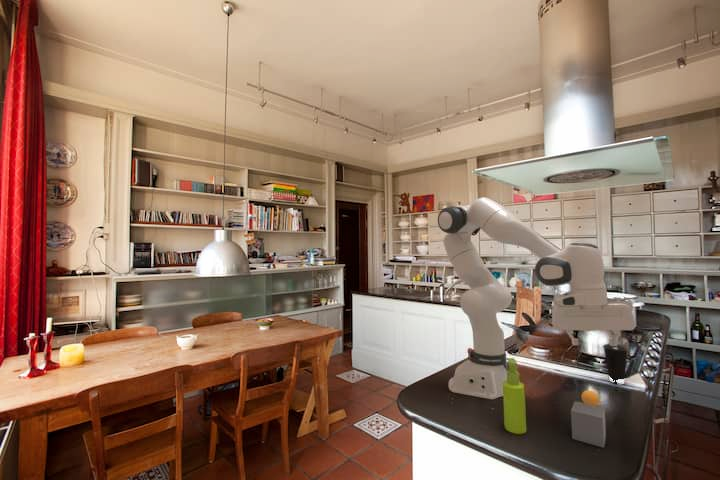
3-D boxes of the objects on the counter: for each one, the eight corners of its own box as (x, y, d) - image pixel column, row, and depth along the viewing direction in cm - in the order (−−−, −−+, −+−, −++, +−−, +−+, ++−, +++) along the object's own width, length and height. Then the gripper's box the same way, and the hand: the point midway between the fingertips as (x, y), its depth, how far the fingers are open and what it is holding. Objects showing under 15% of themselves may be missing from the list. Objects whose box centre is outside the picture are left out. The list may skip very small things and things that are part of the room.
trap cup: (603, 447, 90) (602, 418, 91) (572, 438, 95) (570, 410, 95) (605, 435, 96) (604, 407, 96) (575, 427, 101) (574, 401, 101)
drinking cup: (634, 387, 127) (631, 333, 127) (611, 386, 128) (608, 332, 129) (622, 379, 134) (620, 328, 135) (601, 378, 136) (598, 327, 136)
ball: (584, 408, 112) (583, 393, 112) (580, 401, 117) (579, 387, 117) (602, 410, 110) (601, 394, 110) (597, 403, 115) (596, 388, 115)
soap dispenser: (522, 422, 104) (519, 356, 105) (528, 434, 98) (525, 364, 98) (502, 421, 106) (499, 356, 106) (506, 432, 99) (503, 363, 99)
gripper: (627, 295, 100) (632, 343, 99) (548, 297, 107) (553, 342, 106) (636, 298, 94) (642, 349, 93) (552, 300, 101) (557, 347, 100)
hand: (594, 345), depth 100 cm, fingers open, 8 cm apart
